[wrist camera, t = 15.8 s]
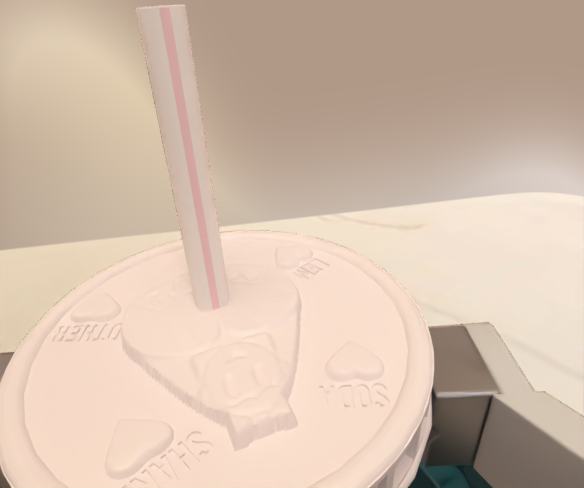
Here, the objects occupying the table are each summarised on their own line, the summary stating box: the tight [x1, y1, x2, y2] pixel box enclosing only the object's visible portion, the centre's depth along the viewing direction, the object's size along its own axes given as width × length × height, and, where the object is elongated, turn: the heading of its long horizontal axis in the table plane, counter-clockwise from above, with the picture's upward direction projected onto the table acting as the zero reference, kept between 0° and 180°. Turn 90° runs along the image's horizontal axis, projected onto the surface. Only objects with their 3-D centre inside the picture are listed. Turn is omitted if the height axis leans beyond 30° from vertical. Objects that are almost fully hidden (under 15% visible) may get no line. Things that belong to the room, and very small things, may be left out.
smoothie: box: [0, 5, 434, 488], centre depth 8 cm, size 6×6×14 cm
